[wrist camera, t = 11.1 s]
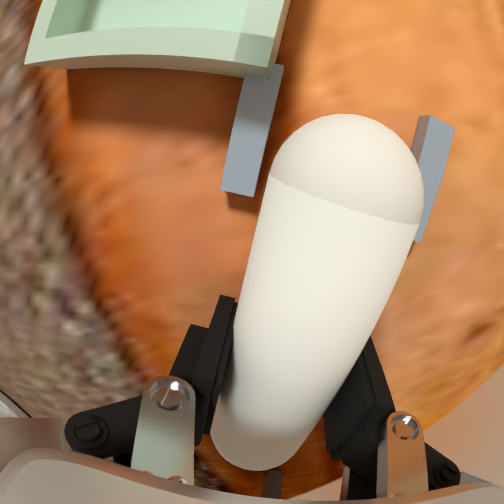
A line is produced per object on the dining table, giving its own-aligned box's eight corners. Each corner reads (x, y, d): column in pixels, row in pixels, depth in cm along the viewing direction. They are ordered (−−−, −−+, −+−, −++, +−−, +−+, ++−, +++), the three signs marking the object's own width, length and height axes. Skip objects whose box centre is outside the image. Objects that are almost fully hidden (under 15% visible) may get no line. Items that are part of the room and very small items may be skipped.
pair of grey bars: (411, 234, 9) (419, 242, 9) (224, 185, 9) (219, 189, 9) (443, 127, 8) (454, 128, 7) (251, 64, 8) (248, 58, 7)
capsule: (288, 422, 14) (288, 487, 10) (212, 409, 14) (198, 474, 10) (404, 140, 8) (475, 153, 5) (284, 102, 8) (292, 81, 5)
